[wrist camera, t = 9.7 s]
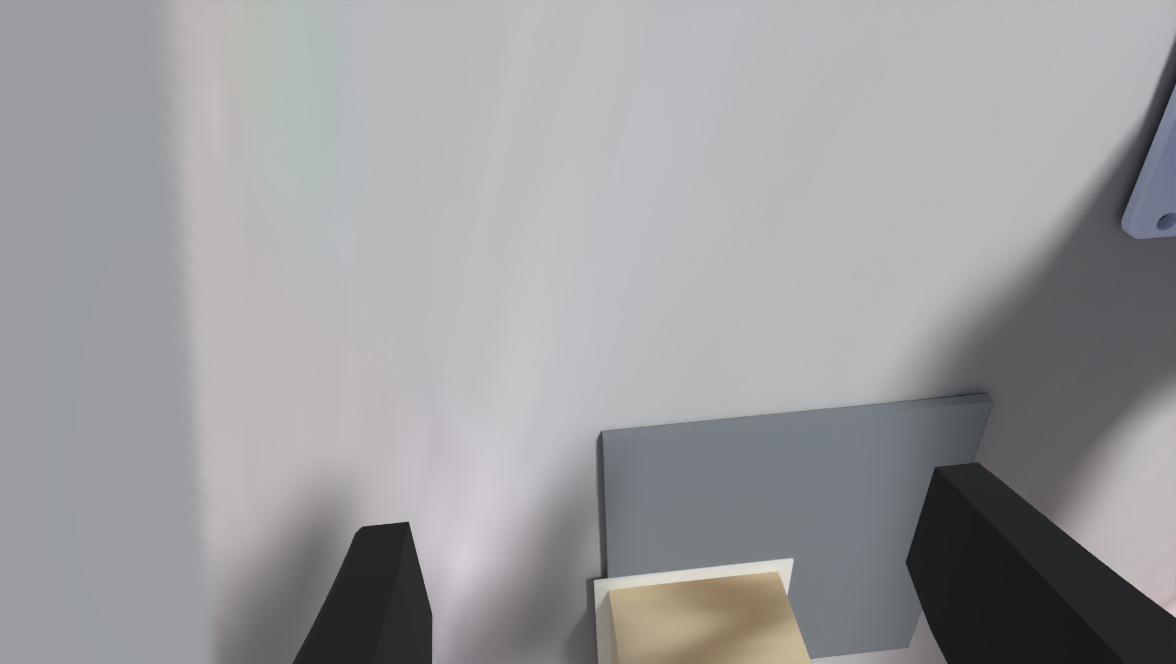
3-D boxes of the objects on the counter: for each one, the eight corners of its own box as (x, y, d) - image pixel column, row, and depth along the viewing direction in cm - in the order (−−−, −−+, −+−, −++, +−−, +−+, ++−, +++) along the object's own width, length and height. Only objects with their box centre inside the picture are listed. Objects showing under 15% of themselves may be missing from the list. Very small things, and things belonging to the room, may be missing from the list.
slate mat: (986, 393, 25) (994, 403, 24) (901, 645, 32) (906, 656, 32) (585, 432, 24) (586, 444, 23) (598, 681, 32) (599, 693, 31)
